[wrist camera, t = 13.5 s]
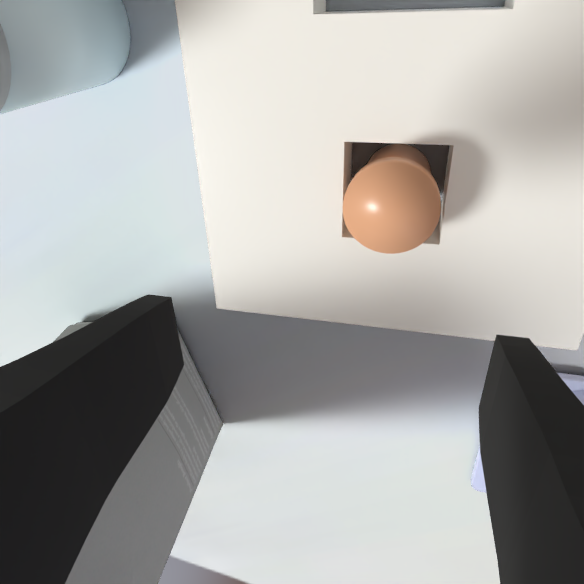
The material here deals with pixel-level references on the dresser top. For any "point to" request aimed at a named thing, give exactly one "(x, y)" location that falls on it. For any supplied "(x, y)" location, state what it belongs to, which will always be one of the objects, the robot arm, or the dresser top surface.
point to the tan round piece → (393, 201)
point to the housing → (393, 129)
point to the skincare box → (151, 488)
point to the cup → (59, 48)
